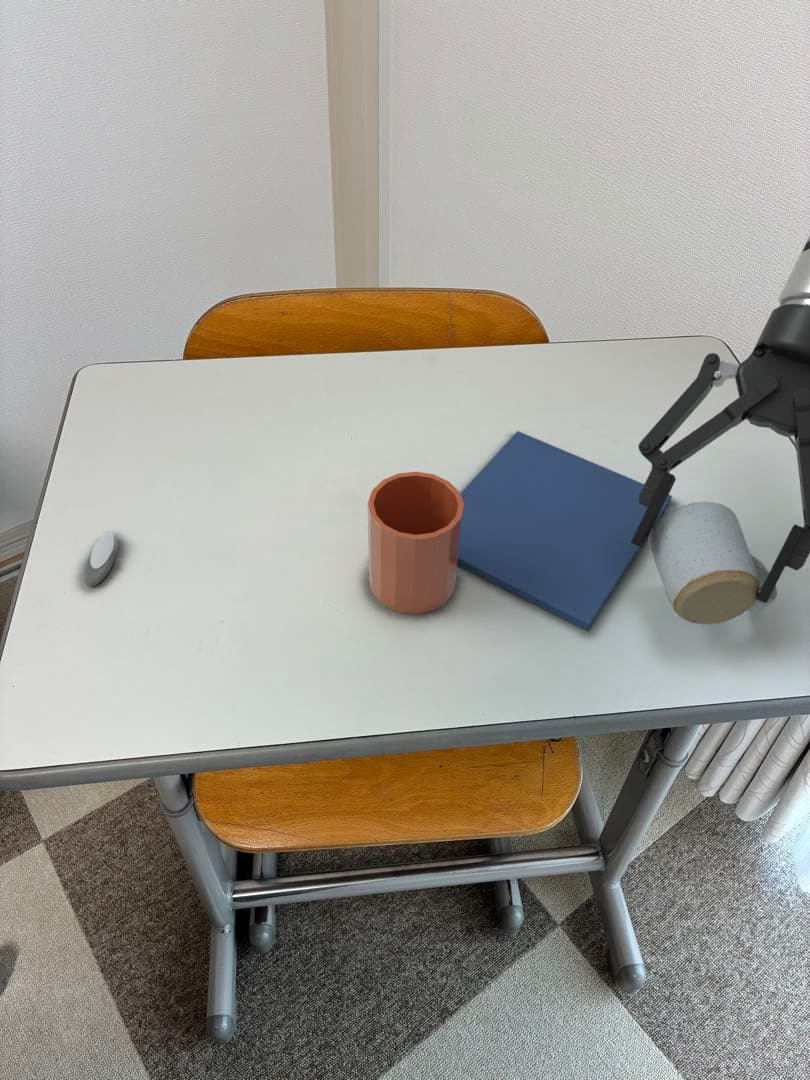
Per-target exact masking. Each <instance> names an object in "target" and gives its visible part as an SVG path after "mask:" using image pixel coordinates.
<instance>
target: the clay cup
mask: <svg viewBox="0 0 810 1080" xmlns="http://www.w3.org/2000/svg"><path fill="white" fill-rule="evenodd" d="M460 493H461V491H459V489H457V487H455V485H453V484H452V483H451V482H450V481H449V480H447V479H445V478H443V477H441V476H439V475H436V474H434V473H428V472H422V471H407V472H399V473H396V474H393V475H391V476H389V477H387V478H384V479H382V480H381V481H380V482H379V483H378V484H377V485H376V486H375V487H373V489H372V490H371V492H370V495H369V498H368V500H367V543H368V545H367V547H368V553H367V554H368V577H369V586H370V590H371V592H372V594H373V596H374V597H375V598H376V599H377V600H378V602H379V603H381V604H382V605H383V606H385V607H386V608H388V609H390V610H391V611H394V612H398V613H402V614H406V615H407V614H409V615H421V614H426V613H430V612H433V611H435V610H438V609H439V608H440V607H442V606H443V605H445V604H446V603H447V602H448V601H449V600H450V598H451V597H452V595H453V594H454V591H455V587H456V581H457V576H458V567H459V565H458V558H459V549H460V540H461V531H462V522H463V512H464V503H463V500H462V497H461V494H460Z"/></svg>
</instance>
